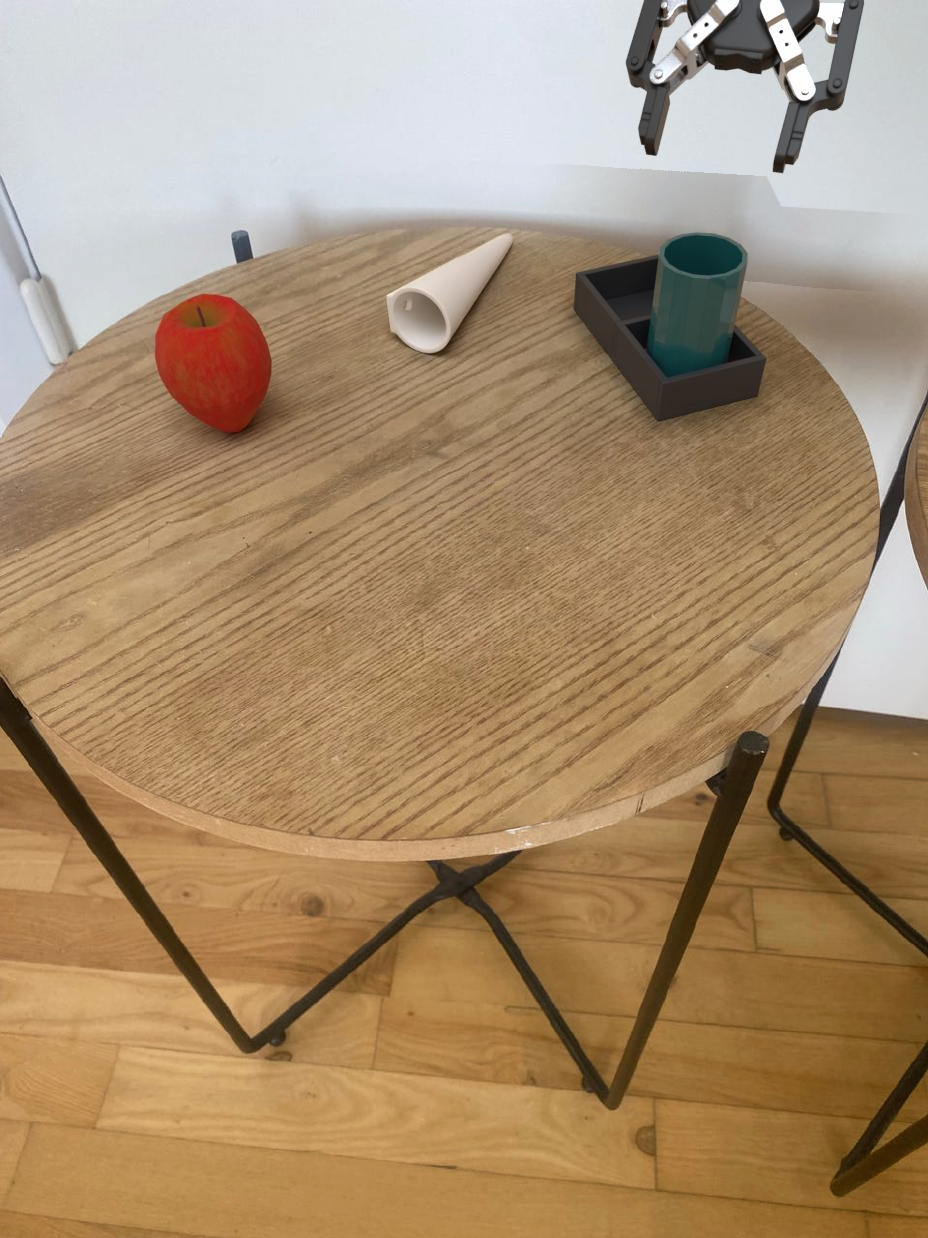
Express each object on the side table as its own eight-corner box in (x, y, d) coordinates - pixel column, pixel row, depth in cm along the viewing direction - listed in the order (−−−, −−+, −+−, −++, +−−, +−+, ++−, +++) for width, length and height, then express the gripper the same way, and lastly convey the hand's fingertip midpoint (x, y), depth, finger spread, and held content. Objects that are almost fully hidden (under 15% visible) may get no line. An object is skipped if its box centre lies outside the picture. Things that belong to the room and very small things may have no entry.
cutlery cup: (725, 349, 79) (748, 235, 72) (723, 396, 75) (747, 280, 68) (647, 342, 80) (662, 229, 73) (641, 388, 76) (656, 274, 69)
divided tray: (757, 396, 76) (767, 357, 74) (658, 421, 75) (663, 383, 72) (662, 288, 87) (667, 251, 84) (573, 309, 85) (575, 272, 83)
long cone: (561, 274, 92) (452, 359, 81) (504, 264, 95) (391, 345, 83) (561, 213, 88) (447, 294, 77) (502, 205, 91) (383, 281, 80)
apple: (188, 393, 79) (151, 274, 71) (290, 389, 79) (264, 269, 71) (171, 461, 74) (128, 341, 66) (280, 457, 74) (250, 335, 66)
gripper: (665, -146, 60) (601, 121, 62) (905, -134, 56) (828, 150, 58) (673, -70, 67) (616, 167, 69) (886, -55, 63) (818, 195, 65)
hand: (713, 159), depth 63 cm, fingers open, 8 cm apart
